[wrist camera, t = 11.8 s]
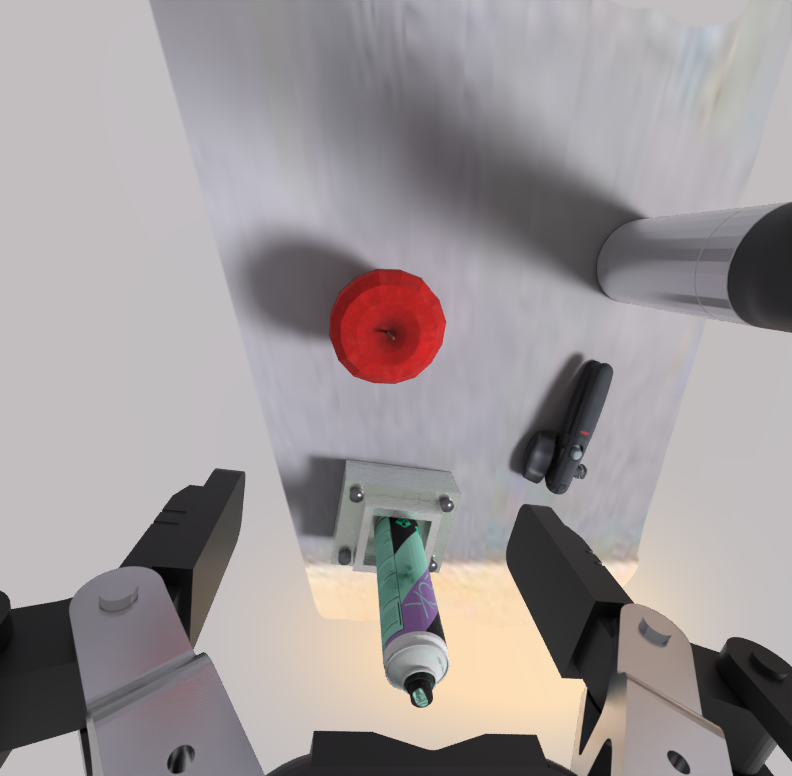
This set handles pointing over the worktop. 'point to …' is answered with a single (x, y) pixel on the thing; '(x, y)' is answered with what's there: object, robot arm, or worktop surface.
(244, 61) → the worktop surface
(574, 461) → the can opener
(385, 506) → the grey square holder
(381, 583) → the spray can
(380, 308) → the apple
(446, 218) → the worktop surface
